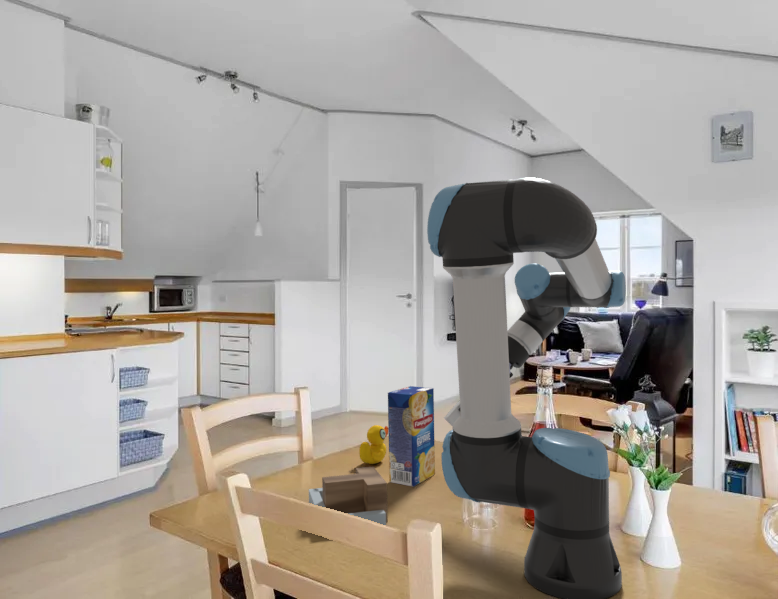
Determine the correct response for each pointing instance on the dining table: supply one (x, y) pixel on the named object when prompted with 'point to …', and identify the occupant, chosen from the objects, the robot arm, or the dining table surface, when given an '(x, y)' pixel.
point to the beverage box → (411, 435)
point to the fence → (375, 516)
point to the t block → (356, 491)
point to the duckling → (374, 445)
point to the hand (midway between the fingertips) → (449, 422)
